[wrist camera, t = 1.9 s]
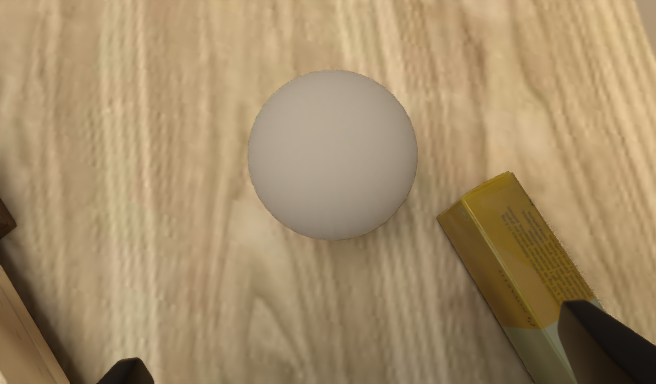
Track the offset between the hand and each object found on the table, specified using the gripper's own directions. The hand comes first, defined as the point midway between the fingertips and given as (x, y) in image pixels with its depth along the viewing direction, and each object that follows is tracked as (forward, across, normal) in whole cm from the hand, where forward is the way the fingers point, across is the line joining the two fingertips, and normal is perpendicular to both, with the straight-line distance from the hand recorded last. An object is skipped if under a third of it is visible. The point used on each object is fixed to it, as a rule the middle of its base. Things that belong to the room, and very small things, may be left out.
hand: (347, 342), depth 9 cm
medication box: (+8, -8, +10) cm, 15 cm away
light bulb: (+13, 0, +5) cm, 14 cm away
